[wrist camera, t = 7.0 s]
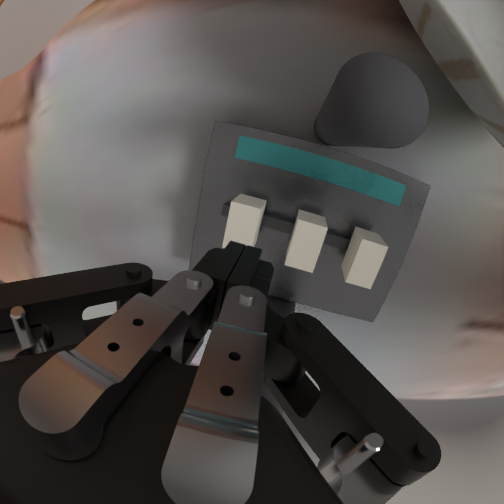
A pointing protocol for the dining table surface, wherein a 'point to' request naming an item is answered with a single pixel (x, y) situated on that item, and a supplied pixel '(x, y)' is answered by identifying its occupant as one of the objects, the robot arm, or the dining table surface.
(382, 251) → the paddles
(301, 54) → the dining table surface
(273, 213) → the panel
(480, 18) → the decorative bowl
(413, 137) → the dark gray rounded rod
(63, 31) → the dining table surface
